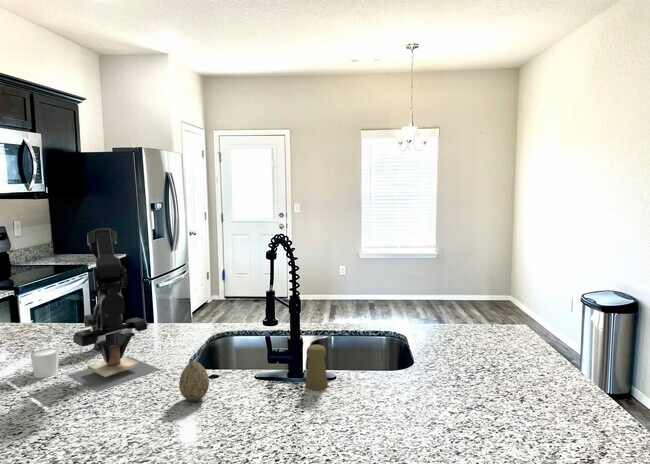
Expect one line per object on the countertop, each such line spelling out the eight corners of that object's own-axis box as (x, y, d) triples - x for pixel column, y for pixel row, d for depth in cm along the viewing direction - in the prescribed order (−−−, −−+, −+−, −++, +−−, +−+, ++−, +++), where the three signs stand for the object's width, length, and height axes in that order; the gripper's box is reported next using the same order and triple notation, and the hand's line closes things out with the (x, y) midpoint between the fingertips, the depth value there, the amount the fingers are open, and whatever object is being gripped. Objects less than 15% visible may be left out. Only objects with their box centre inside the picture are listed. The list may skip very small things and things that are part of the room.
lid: (121, 357, 132) (120, 339, 132) (139, 365, 126) (138, 345, 126) (87, 368, 124) (86, 348, 124) (105, 377, 118) (103, 356, 118)
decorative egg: (214, 400, 109) (213, 361, 108) (187, 409, 105) (185, 369, 104) (201, 390, 115) (200, 353, 114) (175, 399, 110) (173, 360, 109)
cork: (325, 392, 113) (325, 350, 112) (302, 390, 114) (302, 349, 113) (329, 382, 119) (329, 342, 118) (308, 380, 120) (307, 341, 119)
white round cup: (65, 371, 128) (64, 348, 128) (49, 381, 121) (47, 356, 121) (44, 370, 129) (42, 347, 128) (26, 380, 122) (24, 356, 121)
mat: (128, 357, 138) (127, 355, 138) (160, 371, 127) (160, 369, 127) (67, 377, 124) (66, 375, 124) (97, 394, 113) (97, 392, 113)
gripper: (127, 296, 136) (129, 345, 137) (62, 309, 121) (66, 364, 123) (147, 301, 129) (149, 352, 131) (81, 316, 115) (84, 373, 116)
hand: (113, 360), depth 125 cm, fingers closed on lid, 3 cm apart
